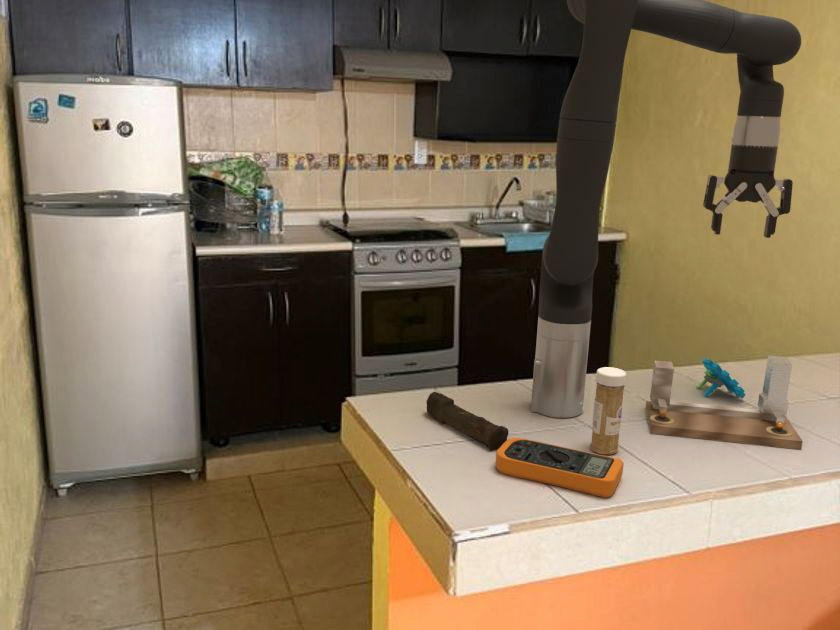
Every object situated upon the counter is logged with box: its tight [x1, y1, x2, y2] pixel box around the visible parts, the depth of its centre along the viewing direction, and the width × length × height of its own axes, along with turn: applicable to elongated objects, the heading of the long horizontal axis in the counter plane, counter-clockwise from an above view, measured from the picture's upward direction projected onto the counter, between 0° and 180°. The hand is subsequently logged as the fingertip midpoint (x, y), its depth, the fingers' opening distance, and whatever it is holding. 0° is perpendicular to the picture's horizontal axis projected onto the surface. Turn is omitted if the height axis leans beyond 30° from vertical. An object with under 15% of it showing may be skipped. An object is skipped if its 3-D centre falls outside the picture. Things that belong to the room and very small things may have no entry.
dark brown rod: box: [426, 391, 509, 452], centre depth 131 cm, size 19×4×5 cm, turn 35°
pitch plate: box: [644, 360, 803, 451], centre depth 135 cm, size 24×12×10 cm, turn 79°
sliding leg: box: [757, 354, 793, 430], centre depth 133 cm, size 4×8×10 cm, turn 169°
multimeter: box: [495, 437, 625, 498], centre depth 116 cm, size 9×18×3 cm, turn 64°
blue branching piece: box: [696, 358, 746, 399], centre depth 152 cm, size 11×6×10 cm
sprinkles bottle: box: [589, 366, 627, 456], centre depth 124 cm, size 5×5×14 cm
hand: (741, 235), depth 140 cm, fingers open, 8 cm apart
